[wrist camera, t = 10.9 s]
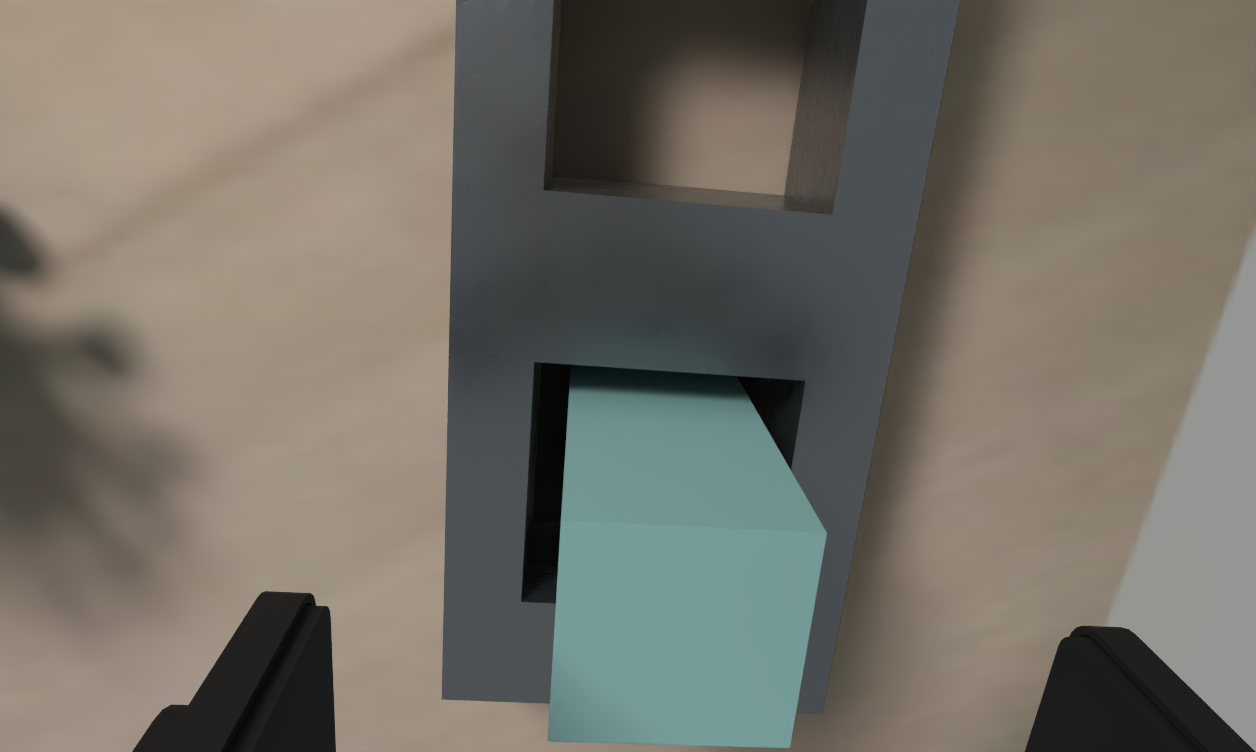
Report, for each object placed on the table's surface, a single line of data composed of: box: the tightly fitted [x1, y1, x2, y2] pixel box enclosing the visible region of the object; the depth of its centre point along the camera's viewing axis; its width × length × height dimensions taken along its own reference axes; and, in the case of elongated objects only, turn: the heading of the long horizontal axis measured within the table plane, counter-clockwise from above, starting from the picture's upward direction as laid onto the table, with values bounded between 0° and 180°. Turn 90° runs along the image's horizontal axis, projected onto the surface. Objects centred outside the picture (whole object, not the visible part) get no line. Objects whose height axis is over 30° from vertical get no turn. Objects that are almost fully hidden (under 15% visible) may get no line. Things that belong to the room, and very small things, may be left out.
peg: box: [548, 365, 827, 748], centre depth 17 cm, size 4×4×9 cm
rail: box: [442, 0, 960, 714], centre depth 18 cm, size 20×9×4 cm, turn 175°
